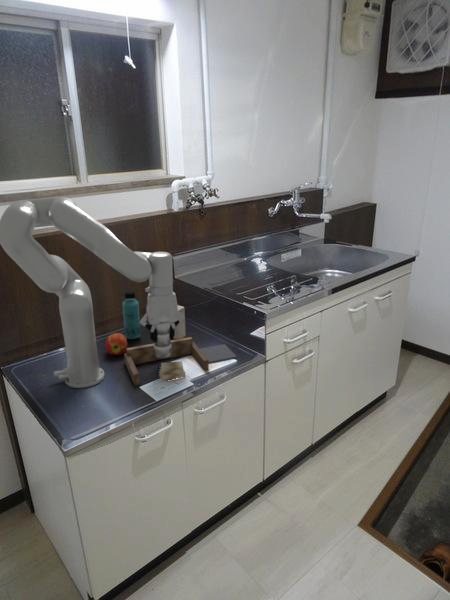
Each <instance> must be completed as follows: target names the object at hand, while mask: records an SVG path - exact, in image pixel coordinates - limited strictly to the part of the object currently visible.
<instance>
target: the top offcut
mask: <svg viewBox="0 0 450 600" xmlns="http://www.w3.org/2000/svg"><path fill="white" fill-rule="evenodd" d="M160 366H161V367H160V368H161V370H162V375H173V374H183V369H184V366H183V361H182V360H179V361H169V362H168V361H167V362H160ZM161 370H160V371H161Z"/></svg>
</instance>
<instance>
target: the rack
mask: <svg viewBox="0 0 450 600" xmlns="http://www.w3.org/2000/svg"><path fill="white" fill-rule="evenodd" d="M171 345H172V354H171V355H170V356H169V357H167V358H158V357H156V356H155V354H154V350H153V349H154V343H149V344H143V345H142V344H141V345H137V346H133V347H127V348H126V350H125V352H126V353H125V352H124V353H123V354H124V365H125V366H126V368H127V372H128V373H129V376H130V378H131V381H132V382H133V384H134V386H140V373H139V371H138V369H137V367H136V365H139V364H144V363H149V362H154V361H157V360H158V361H159V360H164V359H169V358H174V357H180V356H185V355H191V356H192V357H193V358H194V360H195V361H196V363H197V364H198V365H199V366H200V368H202V371H203V372H207V371H209V370H210V369H209V367H210V366H209V364H210V363H209V360H208V359H207V358H206V356H205V355H204V354H203V353H202V351H201V350H200V349H201V348H199V346H197V344H196V343H195V342H194V341H193V337H192V336H190V337H189V336H188V337H184V338H182V339H177V340H175V339H173V340H171Z"/></svg>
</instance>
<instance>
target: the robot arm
mask: <svg viewBox="0 0 450 600" xmlns="http://www.w3.org/2000/svg"><path fill="white" fill-rule="evenodd" d="M43 227H44V228H45V227H55V229H57V230H58V231H60V232H62V233H63V234H65V235H66V236H68V237H70V238H72V240H74V241H75V242H77V243H79V244H80V245H81V246H83V247H85V248H86V249H88V250H89V252H90V251H91V252H92V253H93V254H94V256H97V257H98V258H99V259H101V260H102V261H104V262H105V263H106V264H107V265H109V266H110V267H111V268H112V269H114V270H116V271H117V272H119V273H120V274H121V275H123V276H124V277H126V278H127V279H129V280H130V281H132V282H136V283H143V282H146V281H147V280H149V285H148V286H147V287H145V288H144V290H145V292H146V293H148V294H147V298H146V308H145V312H146V313H145V314H144V315H143V316H142V318H141V319H140V326H143V327H145V328H146V329H147V330H149V335H150V336H149V338H150V340H151V341H152V342H153V344H154V343H155V342H156V332H155V325H159V324H160V323H159V320H160V318H161V317H163V316H165V317H168V319H169V322H168V323H171V326H170V339H171V340H174V339H173V336H175V328H176V326H177V325H178V324H179V322H180V321H181V320H182V319H183V318H184V317H183V316H182V315H181V314H180V313H179V312H178V306H179V305H178V300H177V295H176V293H175V292H174V290H173V289H174V286H173V285H174V282H173V281H174V279H173V276H174V275H173V274H174V273H173V256H172V254H171V253H170V252H167V251H155V252H144V251H133V250H132V249H130V248H129V247H127V246H126V245H125V244H124V243H123V242H122V241H121V240H120V239H119V238H117V236H116V235H115V234H114V233H113V232H112V231H111V230H110V229H109V228H108V227H106V225H104V224H103V223H101V222H100V221H98V220H97V219H95V218H94V217H92V216H91V215H89V214H88V213H87V212H86V211H84V210H83V209H81V208H80V207H79V206H78V205H77V203H76V202H75V201H74V200H72V199H70V198H69V197H64V196H59V197H57V196H56V197H49V198H48V197H45V198H33V199H32V198H30V199H20V200H17V201H14V202H13V203H11V204H10V205H8V207H6V209H5V210H4V211H3V213H2V215H1V217H0V246H1V247H2V249H3V251H4V252H5V253H6V254H7V256H9V257H10V258H11V259H12V260H13V261H14V262H15V264H16V265H18V267H19V268H20V269H21V270H22V271H23V272H24V273H25V274H26V275H27V276H28V277H29V278H30V279H31V280H32V282H34V283H35V284H36V286H38V287H39V289H41V290H42V291H44V292H46V293H52V294H55V295H56V296H57V297H58V298H59V299H58V300H59V301H58V309H59V316H60V321H61V328H62V334H63V339H64V340H63V341H64V347H65V353H66V354H65V355H66V363H67V365H66V368H63V370H55V371H53V377H54V378H58V380H63V379H64V384H65V385H67V386H68V387H70V388H73V389H74V388H76V389H84V388H90V387H93V386H95V385H98V384H100V382H102V381H103V380H104V378H105V376H106V375H105V371H104V369H103V368H101V367H100V364H99V356H98V347H97V340H96V330H95V320H94V307H93V301H92V294H91V290H90V287H89V286H88V284H87V283H86V282H85V281H84V280H83V278H81V276H80V275H79V274H78V273H77V271H76V270H74V269H73V267H71V265H70V264H69V263H68V262H67V261H66V260H64V259H63V258H62V257H60V256H59V255H55V254H49V253H48V251H47V250H46V249H45V248H44V247H43V246H42V245H41V243H39V242H38V241H37V240H36V239H35V238H34V237H33V231H34V230H35V228H43ZM177 305H178V306H177Z"/></svg>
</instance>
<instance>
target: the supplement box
mask: <svg viewBox="0 0 450 600" xmlns="http://www.w3.org/2000/svg"><path fill="white" fill-rule="evenodd" d="M177 306H178V312H179V313H180V314H181V315H182V316H183V317H184V318H183V319H182V320H181V321H180V322H179V324H178V325H177V326H176V328H175V336H173V340H177V339H182V338H187V337H186V315H185V314H186V313H185V310H186V309H185V306H181V305H179V304H177Z"/></svg>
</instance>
